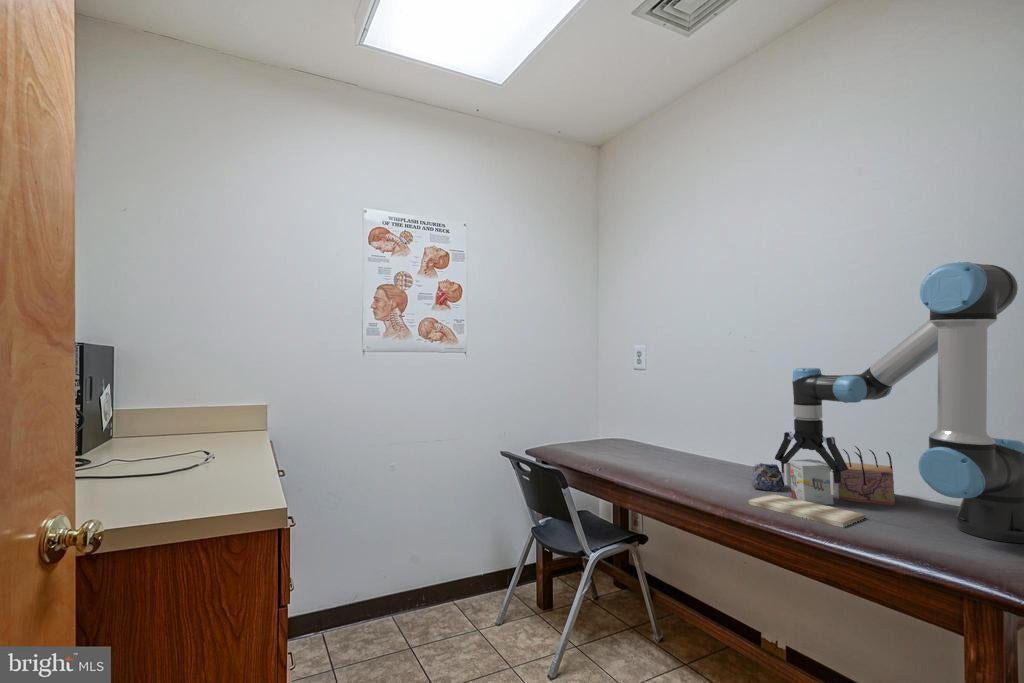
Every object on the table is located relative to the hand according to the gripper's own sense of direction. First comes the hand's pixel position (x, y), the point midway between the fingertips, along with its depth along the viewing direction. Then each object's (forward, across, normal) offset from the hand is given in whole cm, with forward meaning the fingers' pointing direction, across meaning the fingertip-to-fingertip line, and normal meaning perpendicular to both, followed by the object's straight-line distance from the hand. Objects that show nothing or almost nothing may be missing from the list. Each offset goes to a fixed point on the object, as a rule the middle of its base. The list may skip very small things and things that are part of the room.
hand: (810, 488), depth 153 cm
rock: (+4, +17, -4) cm, 18 cm away
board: (+3, -4, +12) cm, 13 cm away
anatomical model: (+4, -7, -16) cm, 18 cm away
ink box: (+4, 0, 0) cm, 4 cm away
